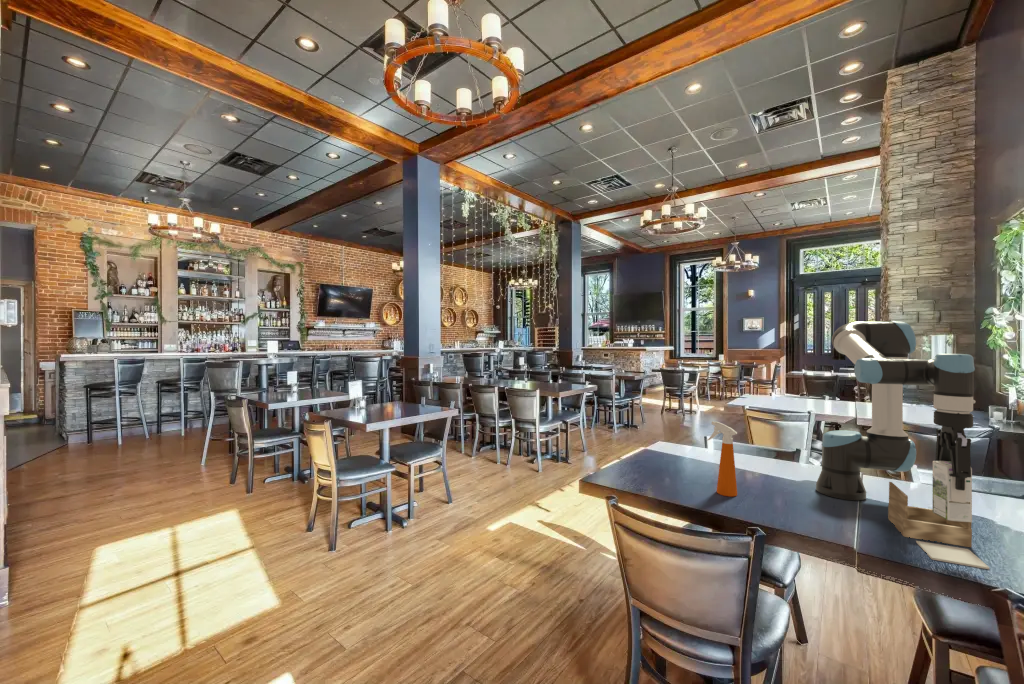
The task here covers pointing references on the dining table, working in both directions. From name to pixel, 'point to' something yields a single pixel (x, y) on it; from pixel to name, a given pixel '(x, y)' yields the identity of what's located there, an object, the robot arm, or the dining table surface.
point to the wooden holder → (925, 522)
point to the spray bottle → (726, 461)
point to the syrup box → (949, 494)
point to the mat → (951, 554)
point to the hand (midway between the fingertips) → (951, 497)
